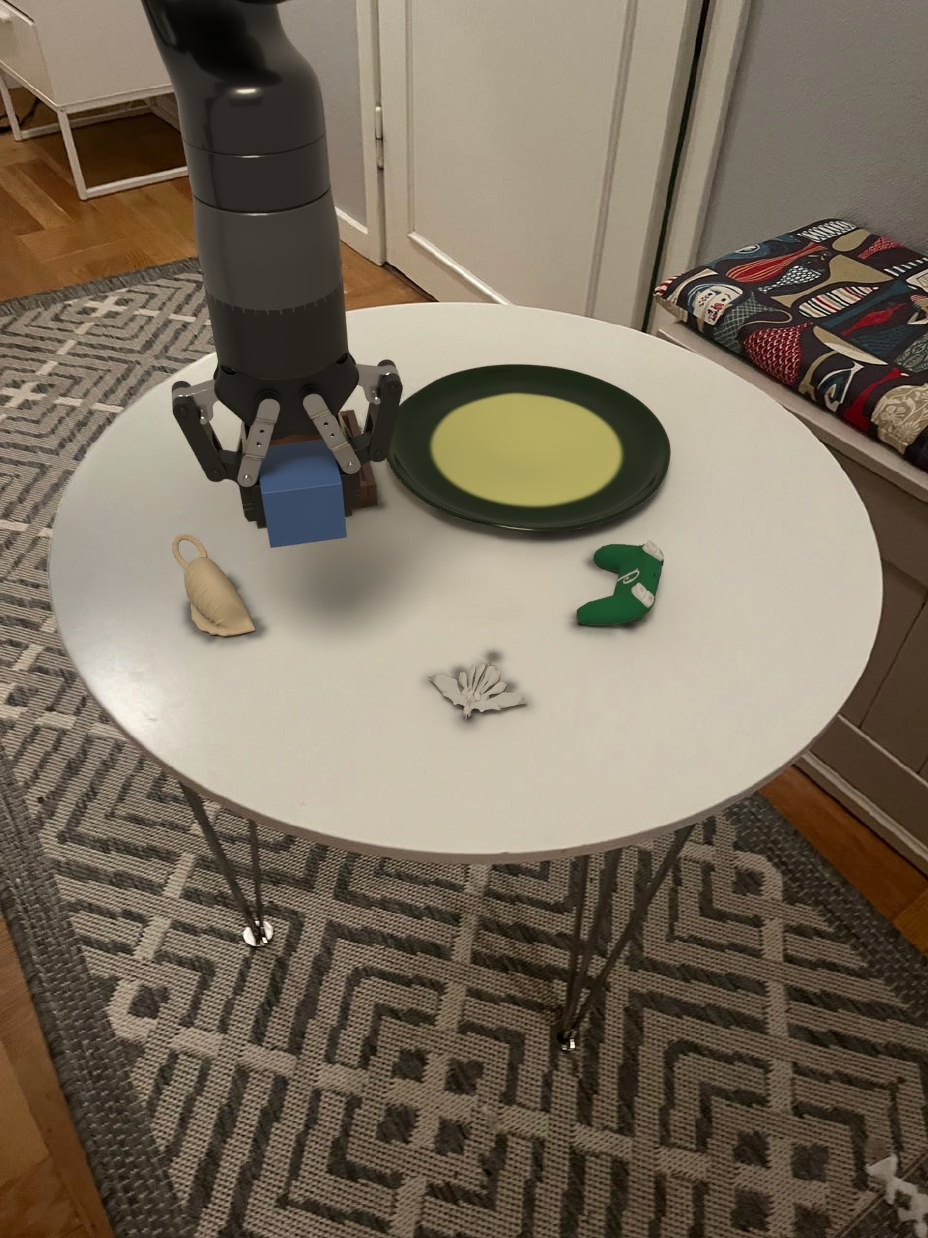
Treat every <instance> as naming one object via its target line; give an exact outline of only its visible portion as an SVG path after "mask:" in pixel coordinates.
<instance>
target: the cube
mask: <svg viewBox="0 0 928 1238" xmlns="http://www.w3.org/2000/svg"><path fill="white" fill-rule="evenodd" d="M259 480H260V487H261V494H262V500H263V506H264V512H265V518H266V524H267V528H266V530H267V536H268V541H269V547H270V549H275V548H282V547H289V546H298V545H304V544H312V543H318V542H326V541H333V540H341V539H342V540H343V539H347V537H348V534H347V523H346V517H345V510H344V498H343V487H342V481H341V477H340V473H339V468H338V464H337V460H336V457H335V456H334V454H333V452H332V451H330V450H329V448H328V446H327V445H326V443H325V441H324V439H322V440H314V441H306V442H297V443H289V444H280V445H272V446H268V450H267V453H266V457H265V459H263V460H262V464H261V467H260V471H259Z"/></svg>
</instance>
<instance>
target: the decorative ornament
mask: <svg viewBox="0 0 928 1238" xmlns="http://www.w3.org/2000/svg"><path fill="white" fill-rule="evenodd" d="M182 541H188V542H190V543H192V544H193V545H194V546H195V547H196V549H197V551H198V552H199V556H198V557H196V558H194V559H193V560H192V561H191V562H190V563H188V562H187V561H185V559H184V558H183V556H182V554H181V552H180V547H179V546H180V543H181V542H182ZM171 550H172V554H173V557H174V559H175V561H176V562H177V564H178V565H179V566H180V567H182V568H183V569H184V587H185V592H186V596H187V598H188V599H189V600H190V603H191V604H190V609H191V615H190V617H191V620H192V621H193V622H194V623H195V625H196V627H197V629H199V630H200V631H202V632H206V633H207V632H208V633H209V634H210V635H211V636H214V635H218V636H221V637H226V636H236V635H241V634H245V633H250V632H255V631H257V630H256V629H257V628H256V627H255V624H254V622H253V620H252V617H251V615H250V613H249V610H248V608H247V606H246V604H245V603H244V601H243V599H242V598H241V596H240V595H239V593H238V592H237V590H236V588H235V587H234V585H233V584H232V582H231V581H230V579H229V578H228V576H227V575H226V573H225V572H224V571H223V570H222V568H221V567H220V566H219V565H218V564H217V563H216V562H215V561H214V560H212V559H211V558H209V556H208V555H209V554H208V552H207V550H206V548H205V546H204V544H203V543H202V542H201V541H200V540H199V539H198V538H197V537H195V536H194V535H192V534H189V533H181V534H178V535H177V536H176V537H175V538H174V539H173V541H172V545H171Z"/></svg>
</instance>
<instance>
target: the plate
mask: <svg viewBox="0 0 928 1238" xmlns="http://www.w3.org/2000/svg"><path fill="white" fill-rule="evenodd" d="M671 451H672V449H671V442H670V438H669V435H668V433H667V431H666V429H665V427H664V425H663V424H662V422H661V421H660V419H659V418H658V416H657V415H656V414H655V413H654V412H653V411H652V410H651V408H649V407H648V406H647V405H646V403H645V404H644V402H642V401H641V400H639V398H638V397H636V396H634V395H633V394H632V393H629V392H628V391H626V390H624V389H623V388H621V387H619V386H618V385H615V384H613V383H610V382H609V381H606V380H603V379H601V378H599V377H595V376H593V375H590V374H587V373H585V372H581V371H577V370H572V369H569V368H564V367H559V366H552V365H551V366H550V365H541V364H530V363H529V364H526V363H504V364H503V363H502V364H492V365H491V364H490V365H484V366H478V367H473V368H467V369H464V370H460V371H455V372H452V373H449V374H447V375H444V376H442V377H439V378H437V379H435V380H433V381H431V382H429V383H428V384H426V385H425V386H424V387H422V388H420V389H418V390H416V391H415V392H414V393H412V394H411V395H410V396H408V397H407V398H406V399H404V400H403V401H402V402H400V404H399V408H398V413H397V417H396V421H395V426H394V430H393V434H392V439H391V443H390V447H389V452H388V456H387V458H386V459H385V460H386V462H387V464H388V466H389V468H390V470H391V471H392V472H393V474H394V475H395V476H396V478H397V479H398V480H399V482H400V483H401V484H402V485H403V486H404V487H405V488H406V489H407V490H408V491H409V492H410V493H411V494H413V495H414V496H415V497H416V498H418V499H419V500H421V501H423V502H424V503H425V504H427V505H429V506H430V507H432V508H434V509H435V510H438V511H440V512H442V513H444V514H447V515H448V516H452V517H454V518H456V519H459V520H463V521H466V522H470V523H473V524H478V525H483V526H487V527H492V528H498V529H504V530H509V531H514V532H515V531H517V532H526V533H551V532H565V531H572V530H579V529H584V528H588V527H593V526H596V525H601V524H603V523H606V522H609V521H612V520H614V519H617V518H619V517H622V516H623V515H626V514H628V513H630V512H631V511H633V510H635V509H636V508H638V507H640V506H641V505H643V504H644V503H645V502H646V501H647V500H649V499H650V498H651V497H653V495H654V494H655V493H656V492H657V490H658V489H659V488H660V487H661V485H662V483H664V480H665V478H666V475H667V473H668V470H669V466H670V462H671V454H672V452H671Z"/></svg>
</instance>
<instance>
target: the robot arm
mask: <svg viewBox="0 0 928 1238" xmlns="http://www.w3.org/2000/svg"><path fill="white" fill-rule="evenodd" d="M288 2H292V0H140V3H141V5H142V9H143V11H144V15H145V17H146V20H147V23H148V27H149V28H150V31H151V35H152V38H153V41H154V43H155V46H156V49H157V51H158V53H159V55H160V56H159V57H160V58H161V61H162V63H163V65H164V69H165V70H166V72H167V75H168V79H169V81H170V84H171V87H172V89H173V93H174V96H175V101H176V107H177V115H178V122H179V123H178V124H179V130H180V134H181V141H182V147H183V153H184V157H185V162H186V170H187V174H188V179H189V186H190V189H191V197H192V207H193V229H194V231H193V232H194V238H195V239H194V240H195V246H196V251H197V262H198V266H199V269H200V272H201V277H202V284H203V289H204V294H205V300H206V305H207V310H208V315H209V321H210V326H211V333H212V338H213V343H214V348H215V353H216V358H217V363H216V367H215V370H214V372H213V374H212V375H213V376H212V379H209V380H205V381H203V382H199V383H196V384H194V385H191V383H190V382H188V381H186V380H177V381H175V382H174V383H173V384H172V385H171V411H172V414H173V418H174V419H175V421H176V423H177V424H178V426H179V428H180V430H181V432H182V434H183V436H184V437H185V440H186V442H187V444H188V445H189V447H190V449H191V451H192V452H193V454H194V456H195V458H196V460H197V462H198V463H199V466H200V468H201V469H202V471H203V473H204V476H206V478H207V480H209V481H210V482H213V483H220V482H223V481H224V480H229V481H232V482H234V483H236V485H237V486H238V489H239V495H240V499H241V504H242V511H243V515H244V516H243V517H244V518H245V520H246V521H247V522H248V523H253V522H256V527H257V529H258V530H259V529H267V524H266V518H265V512H264V506H263V500H262V494H261V487H260V480H259V471H260V467H261V464H262V460H263V459H265V457H266V453H267V450H268V446H269V443H270V440H277V439H283V438H286V437H289V436H292V435H305V436H311V435H319V434H321V436H322V438H323V439H324V441H325V443H326V445H327V446H328V448H329V450H330V451H332V452H333V454H334V456H335V457H336V460H337V464H338V468H339V473H340V477H341V481H342V487H343V498H344V510H345V518H351V517H353V516H354V515H353V514H354V513H353V510H355V509H354V508H356V509H360V508H359V507H360V504H361V502H362V501H361V487H360V474H359V471H360V468H361V467H362V466H363V465H364V464H365V463H367V462H371V461H372V462H374V463H382V462H384V461H385V460H387V459H386V458H387V456H388V452H389V447H390V443H391V439H392V434H393V430H394V426H395V421H396V417H397V413H398V408H399V405H400V404H401V399H402V396H403V390H404V385H403V383H402V379H401V376H400V374H399V370H398V367H397V365H396V363H395V362H394V361H393V360H391V359H387V358H385V359H382V360H381V361H379V362H378V363H377V365H371V364H361V363H357V361H356V359H355V357H354V356H353V355H352V354H351V352H350V349H349V338H348V325H347V313H346V312H347V311H346V300H345V299H346V298H345V285H344V283H345V282H344V274H343V273H344V272H343V260H342V259H343V258H342V246H341V245H342V243H341V232H340V225H339V218H338V214H337V209H336V205H335V201H334V196H333V195H334V194H333V187H332V183H331V171H330V170H331V169H330V158H329V145H328V131H327V117H326V109H325V108H326V107H325V101H324V95H323V90H322V85H321V82H320V79H319V76H318V74H317V72H316V70H315V69H314V67H313V65H312V64H311V63H310V61H308V59H307V58H306V57H305V56H304V55H303V54H302V53H301V52H300V51H299V50H298V48H297V47H296V46H295V45H294V44H293V43H292V41H291V39H289V37H288V35H287V33H286V31H285V28H284V26H283V23H282V19H281V15H280V10H279V7H278V5H281V4H285V3H288ZM358 386H359V387H361V388H362V390H363V394H364V397H365V399H366V401H367V402H368V407H367V413H366V417H365V422H364V426H363V432H361V434H360V435H358V436H355V437H353V438H352V436H351V434H350V432H349V431H348V429H347V427H346V425H345V423H344V421H343V419H342V416H341V414H340V412H339V411H342V409H343V407H344V406H345V405H346V403H347V401H348V400H349V399H350V397H351V396H352V394H353V393H354V391H355V390H356V389H357V387H358ZM218 401H219V402H220V403H221V404H222V405H223V406H225V407H226V408H227V409H228V410H229V411H230V412H231V413H232V414H234V415H235V416H236V417H237V418H238V419H239V420H240V421H241V423H240V433H239V437H238V441H237V445H236V449H235V450H228V449H224V448H223V446H222V443H221V442H220V439H219V438H218V435H217V434H216V432H215V430H214V427H213V426H212V424H211V421H212V420H213V418H214V406H215V405H214V404H215V403H216V402H218Z"/></svg>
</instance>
